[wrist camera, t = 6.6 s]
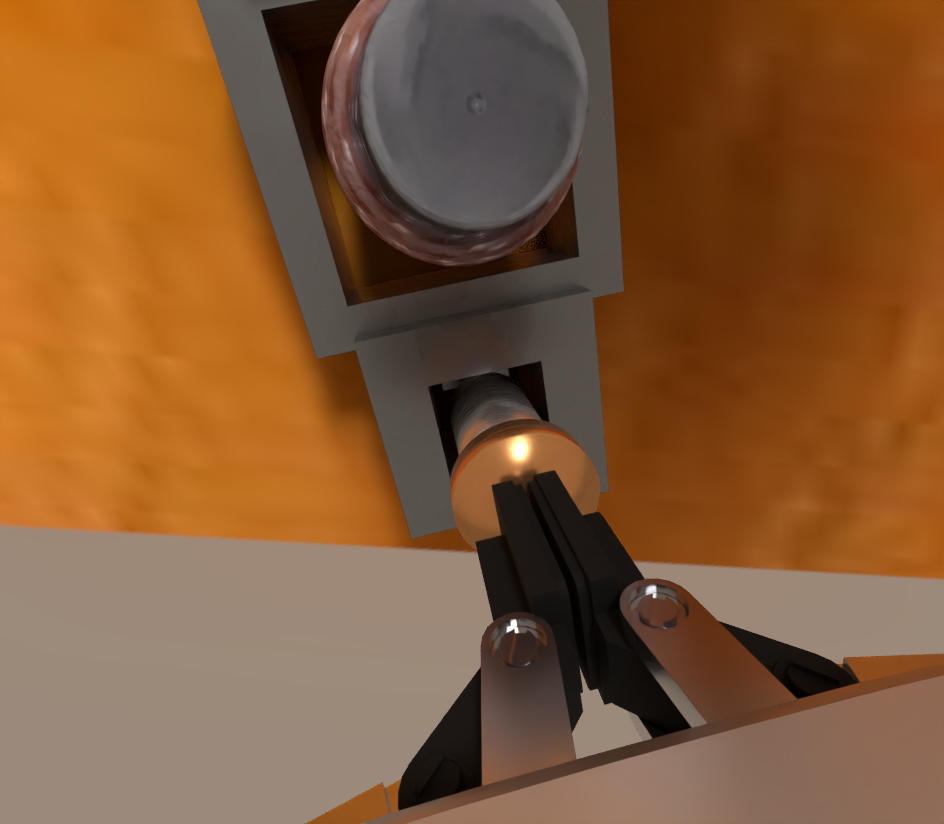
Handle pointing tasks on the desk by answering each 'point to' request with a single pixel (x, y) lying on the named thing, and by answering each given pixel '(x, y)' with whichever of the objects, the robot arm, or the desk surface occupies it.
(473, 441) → the plunger
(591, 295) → the housing
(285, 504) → the desk surface
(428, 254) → the supplement bottle
